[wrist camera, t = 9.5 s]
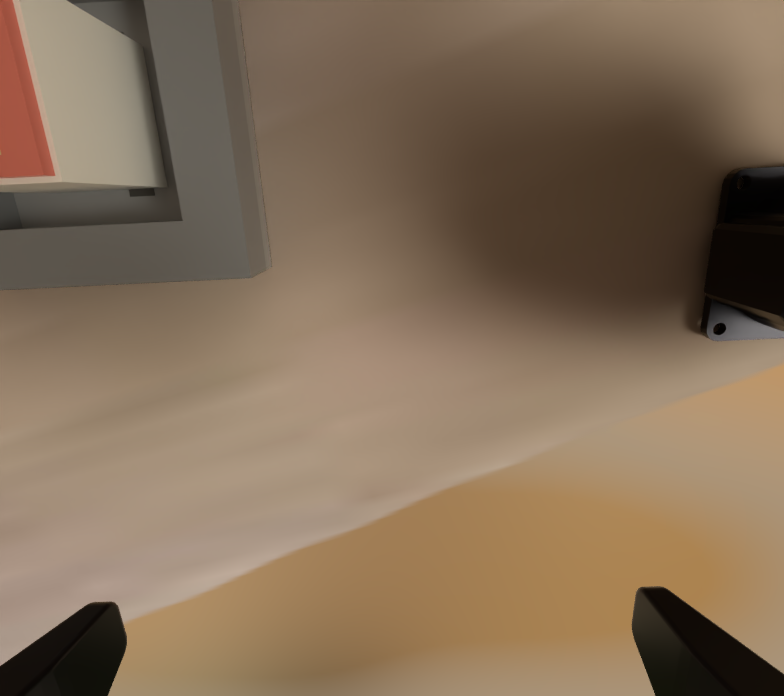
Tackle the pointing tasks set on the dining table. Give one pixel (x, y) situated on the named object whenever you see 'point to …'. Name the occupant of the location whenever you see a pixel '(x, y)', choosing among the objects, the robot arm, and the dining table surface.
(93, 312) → the dining table surface
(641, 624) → the robot arm
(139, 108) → the plug
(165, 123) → the socket plate
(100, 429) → the dining table surface
